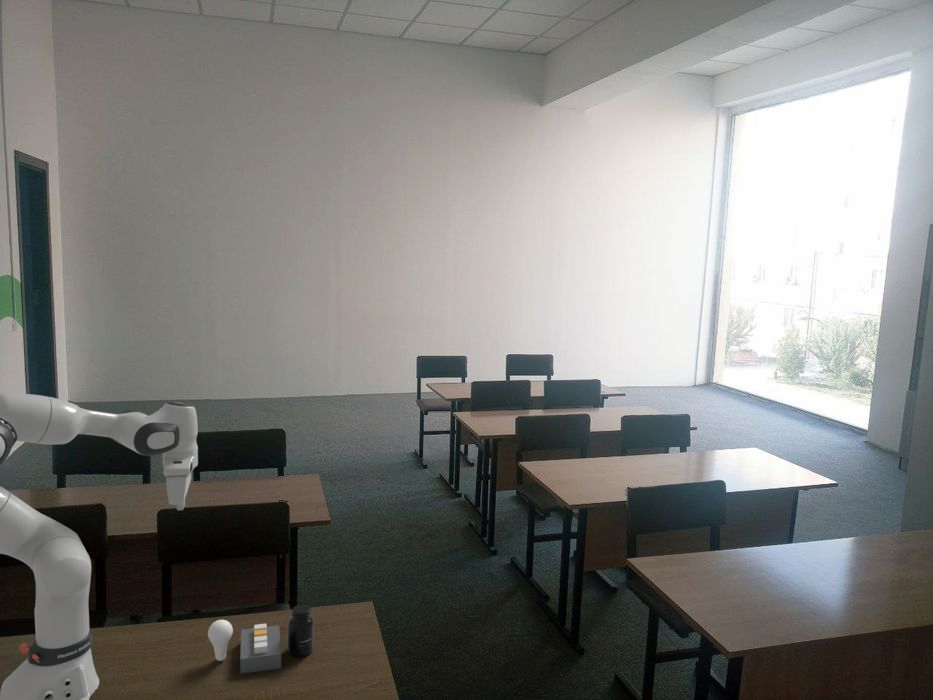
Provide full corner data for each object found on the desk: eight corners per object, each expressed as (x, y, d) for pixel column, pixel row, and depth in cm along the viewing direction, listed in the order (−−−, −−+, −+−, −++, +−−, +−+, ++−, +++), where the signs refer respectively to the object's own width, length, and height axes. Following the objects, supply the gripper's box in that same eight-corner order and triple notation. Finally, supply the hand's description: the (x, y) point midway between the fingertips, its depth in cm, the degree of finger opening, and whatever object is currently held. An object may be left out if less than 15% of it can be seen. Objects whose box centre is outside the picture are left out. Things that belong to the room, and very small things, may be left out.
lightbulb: (225, 669, 179) (224, 629, 177) (203, 665, 180) (202, 625, 179) (237, 655, 185) (237, 617, 183) (216, 651, 186) (216, 613, 185)
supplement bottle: (306, 660, 184) (306, 617, 183) (282, 655, 186) (282, 613, 184) (318, 645, 191) (318, 605, 189) (295, 641, 193) (295, 600, 191)
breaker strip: (281, 668, 180) (281, 647, 180) (240, 673, 178) (240, 652, 177) (278, 624, 201) (278, 605, 200) (241, 628, 198) (241, 609, 197)
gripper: (172, 449, 199) (173, 495, 201) (162, 472, 179) (163, 523, 181) (196, 448, 201) (196, 494, 203) (188, 471, 181) (189, 521, 183)
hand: (180, 508), depth 192 cm, fingers closed
